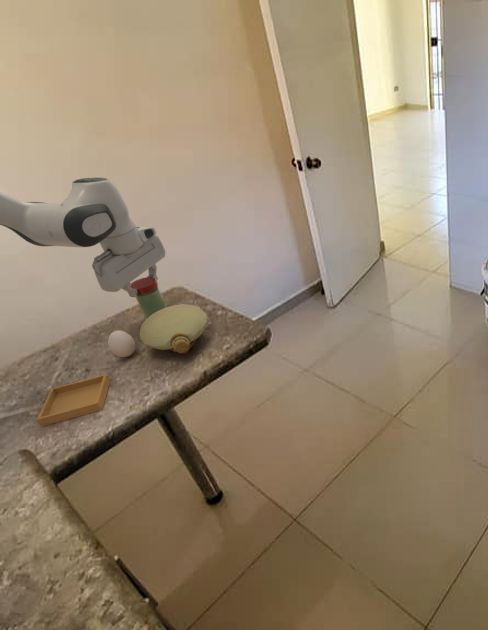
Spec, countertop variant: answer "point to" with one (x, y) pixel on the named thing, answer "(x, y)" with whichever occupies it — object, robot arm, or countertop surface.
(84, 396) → the tray
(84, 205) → the robot arm
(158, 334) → the flask
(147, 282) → the lid
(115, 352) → the egg
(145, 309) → the jar
